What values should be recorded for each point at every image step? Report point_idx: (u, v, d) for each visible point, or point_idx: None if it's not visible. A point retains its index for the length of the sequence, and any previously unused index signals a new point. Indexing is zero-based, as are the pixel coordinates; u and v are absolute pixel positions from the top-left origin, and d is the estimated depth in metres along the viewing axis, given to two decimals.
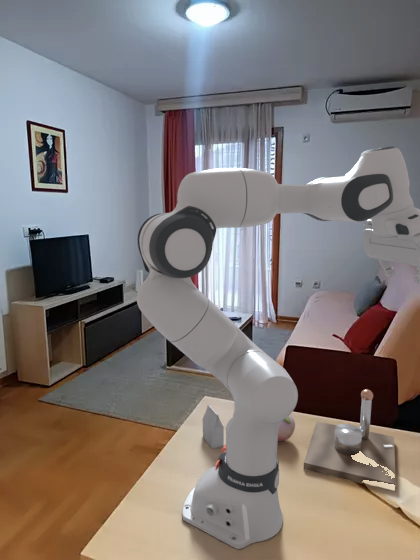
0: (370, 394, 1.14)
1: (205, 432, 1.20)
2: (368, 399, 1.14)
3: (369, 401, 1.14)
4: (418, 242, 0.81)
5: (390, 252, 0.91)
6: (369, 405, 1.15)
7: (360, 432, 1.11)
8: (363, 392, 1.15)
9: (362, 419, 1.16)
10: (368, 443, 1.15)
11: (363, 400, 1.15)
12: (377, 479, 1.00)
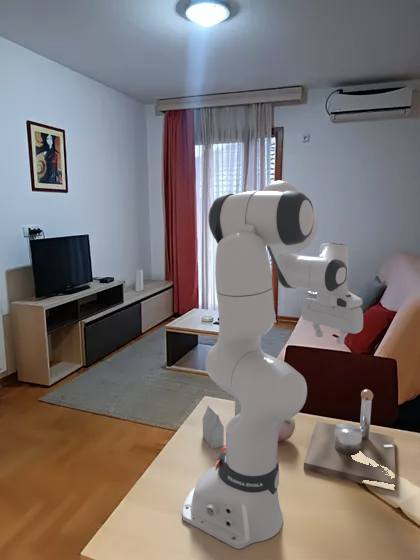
0: (370, 394, 1.14)
1: (205, 432, 1.20)
2: (368, 399, 1.14)
3: (369, 401, 1.14)
4: (351, 314, 1.15)
5: (324, 318, 1.24)
6: (369, 405, 1.15)
7: (360, 432, 1.11)
8: (363, 392, 1.15)
9: (362, 419, 1.16)
10: (368, 443, 1.15)
11: (363, 400, 1.15)
12: (377, 479, 1.00)
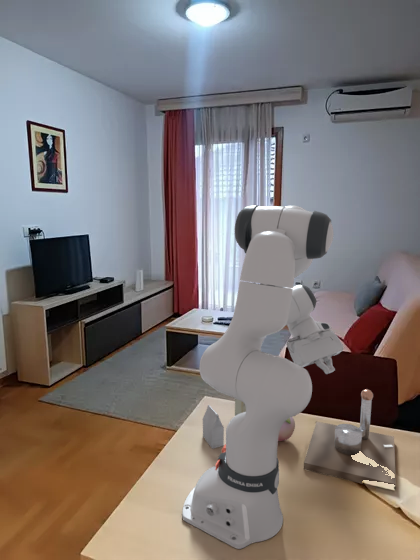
0: (370, 394, 1.14)
1: (205, 432, 1.20)
2: (368, 399, 1.14)
3: (369, 401, 1.14)
4: (334, 333, 1.32)
5: (320, 349, 1.26)
6: (369, 405, 1.15)
7: (360, 432, 1.11)
8: (363, 392, 1.15)
9: (362, 419, 1.16)
10: (368, 443, 1.15)
11: (363, 400, 1.15)
12: (377, 479, 1.00)
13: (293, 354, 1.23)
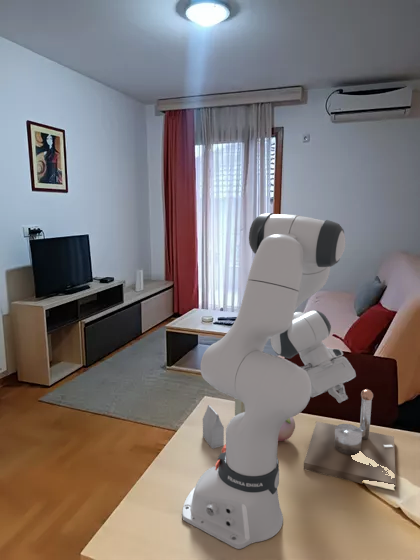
0: (370, 394, 1.14)
1: (205, 432, 1.20)
2: (368, 399, 1.14)
3: (369, 401, 1.14)
4: (345, 359, 1.30)
5: (332, 377, 1.23)
6: (369, 405, 1.15)
7: (360, 432, 1.11)
8: (363, 392, 1.15)
9: (362, 419, 1.16)
10: (368, 443, 1.15)
11: (363, 400, 1.15)
12: (377, 479, 1.00)
13: None
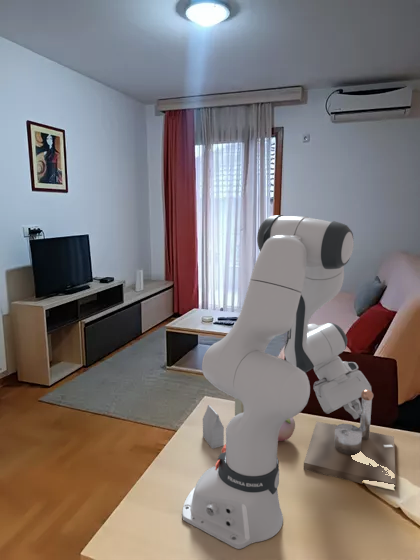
0: (370, 394, 1.14)
1: (205, 432, 1.20)
2: (368, 399, 1.14)
3: (369, 401, 1.14)
4: (361, 373, 1.26)
5: (348, 392, 1.19)
6: (369, 405, 1.14)
7: (360, 432, 1.11)
8: (363, 392, 1.15)
9: (362, 419, 1.16)
10: (368, 443, 1.15)
11: (363, 400, 1.15)
12: (377, 479, 1.00)
13: (321, 399, 1.16)
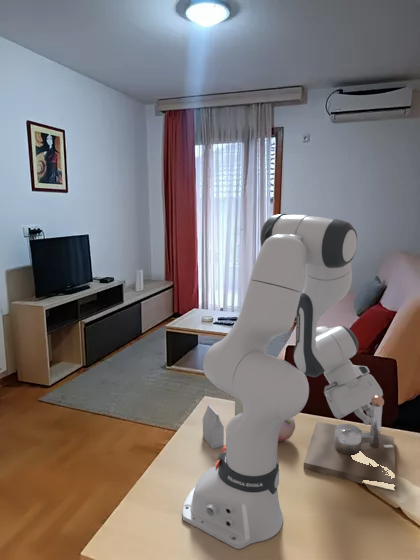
0: (379, 400, 1.10)
1: (205, 432, 1.20)
2: (376, 405, 1.11)
3: (377, 407, 1.11)
4: (372, 377, 1.23)
5: (359, 397, 1.16)
6: (378, 412, 1.11)
7: (359, 435, 1.10)
8: (373, 397, 1.12)
9: (371, 425, 1.13)
10: (368, 443, 1.15)
11: (372, 405, 1.12)
12: (377, 479, 1.00)
13: (331, 403, 1.13)
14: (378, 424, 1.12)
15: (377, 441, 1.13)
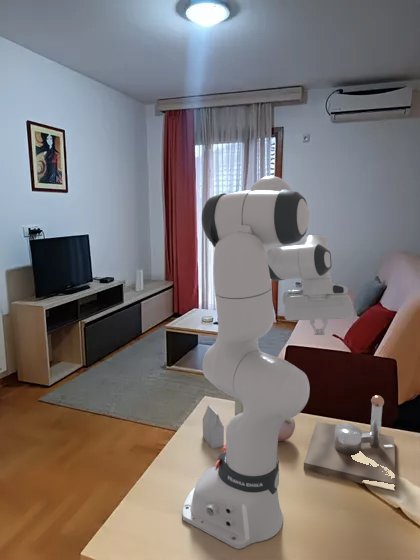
0: (379, 400, 1.10)
1: (205, 432, 1.20)
2: (376, 405, 1.11)
3: (377, 407, 1.11)
4: (348, 298, 1.20)
5: (315, 311, 1.22)
6: (378, 412, 1.11)
7: (359, 435, 1.10)
8: (373, 397, 1.12)
9: (371, 425, 1.13)
10: (368, 443, 1.15)
11: (372, 405, 1.12)
12: (377, 479, 1.00)
13: None
14: (378, 424, 1.12)
15: (377, 441, 1.13)
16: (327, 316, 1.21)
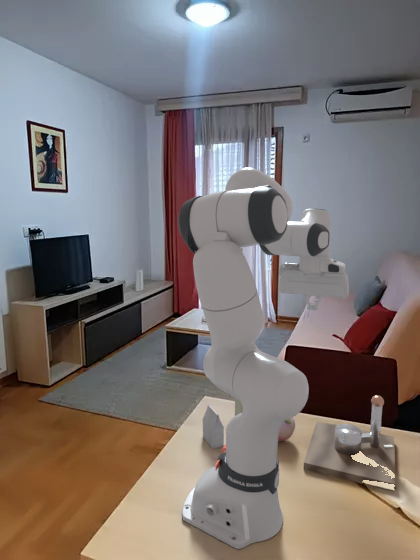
0: (379, 400, 1.10)
1: (205, 432, 1.20)
2: (376, 405, 1.11)
3: (377, 407, 1.11)
4: (343, 278, 1.16)
5: (309, 287, 1.20)
6: (378, 412, 1.11)
7: (359, 435, 1.10)
8: (373, 397, 1.12)
9: (371, 425, 1.13)
10: (368, 443, 1.15)
11: (372, 405, 1.12)
12: (377, 479, 1.00)
13: None
14: (378, 424, 1.12)
15: (377, 441, 1.13)
16: (320, 293, 1.19)
